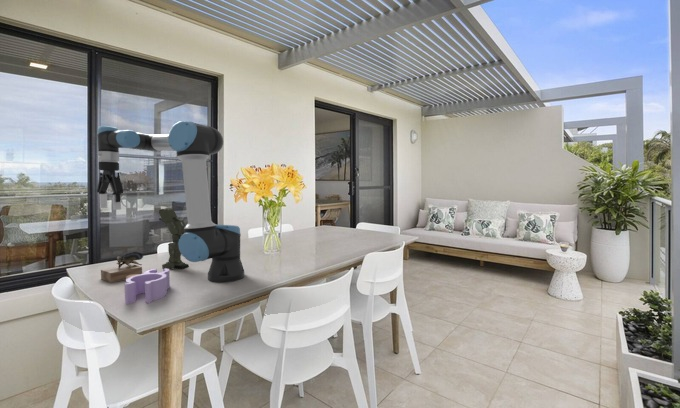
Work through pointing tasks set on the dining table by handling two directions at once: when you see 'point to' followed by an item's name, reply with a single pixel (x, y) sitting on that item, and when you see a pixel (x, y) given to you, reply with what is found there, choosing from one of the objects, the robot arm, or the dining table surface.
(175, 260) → the mechanical leg
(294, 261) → the dining table surface
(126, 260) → the eagle figurine
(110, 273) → the plinth
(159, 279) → the clip
